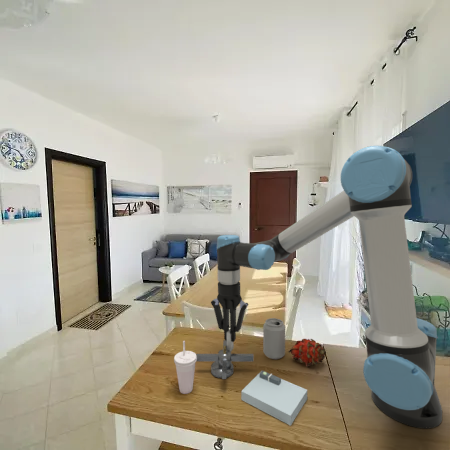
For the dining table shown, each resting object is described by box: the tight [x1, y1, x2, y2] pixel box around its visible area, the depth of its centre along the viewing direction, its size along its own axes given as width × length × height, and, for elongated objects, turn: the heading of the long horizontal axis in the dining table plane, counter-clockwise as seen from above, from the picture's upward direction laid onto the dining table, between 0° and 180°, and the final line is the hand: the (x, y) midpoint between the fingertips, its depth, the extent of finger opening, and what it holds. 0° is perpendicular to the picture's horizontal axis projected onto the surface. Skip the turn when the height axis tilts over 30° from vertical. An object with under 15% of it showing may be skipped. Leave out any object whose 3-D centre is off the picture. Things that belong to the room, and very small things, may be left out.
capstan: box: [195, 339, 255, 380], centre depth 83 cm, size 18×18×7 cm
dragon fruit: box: [288, 338, 327, 367], centre depth 88 cm, size 8×8×12 cm
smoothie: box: [173, 340, 197, 395], centre depth 75 cm, size 6×6×14 cm
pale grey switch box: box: [240, 370, 308, 427], centre depth 71 cm, size 14×11×4 cm
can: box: [262, 317, 286, 360], centre depth 92 cm, size 8×8×12 cm
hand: (230, 349), depth 90 cm, fingers closed
